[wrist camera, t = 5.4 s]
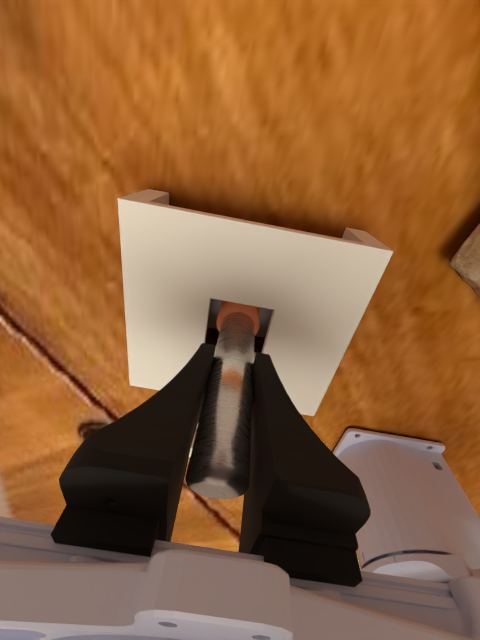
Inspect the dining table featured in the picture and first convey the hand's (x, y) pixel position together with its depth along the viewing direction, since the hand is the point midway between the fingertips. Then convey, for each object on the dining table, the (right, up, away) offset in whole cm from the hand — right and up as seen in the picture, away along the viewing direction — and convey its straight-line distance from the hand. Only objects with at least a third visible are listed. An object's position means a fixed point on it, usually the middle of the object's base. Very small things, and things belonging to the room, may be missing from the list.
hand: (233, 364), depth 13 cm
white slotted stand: (0, +4, +6) cm, 7 cm away
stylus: (0, +2, +3) cm, 3 cm away
